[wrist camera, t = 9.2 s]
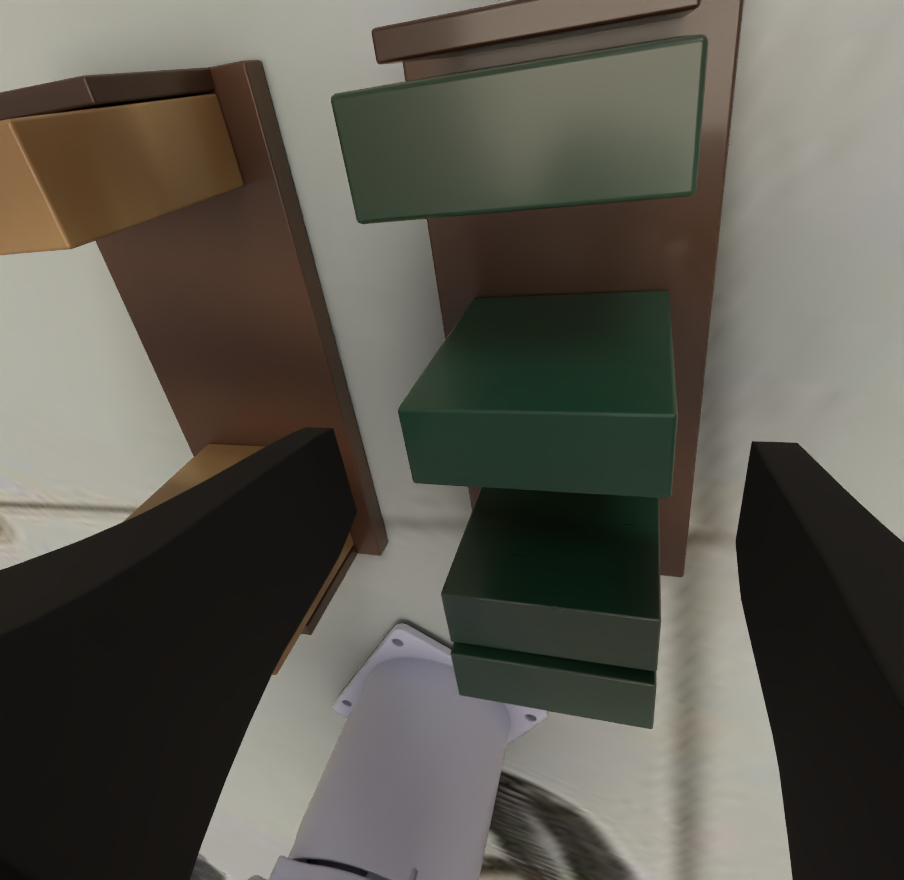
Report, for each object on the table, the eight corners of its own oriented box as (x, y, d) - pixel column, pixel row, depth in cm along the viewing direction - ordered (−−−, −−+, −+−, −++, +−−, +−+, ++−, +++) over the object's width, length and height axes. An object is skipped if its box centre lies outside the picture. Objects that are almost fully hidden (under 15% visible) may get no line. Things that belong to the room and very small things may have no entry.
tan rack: (388, 542, 23) (309, 692, 18) (242, 528, 25) (132, 659, 20) (261, 59, 15) (34, 71, 9) (54, 99, 17) (-228, 127, 11)
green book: (665, 356, 15) (671, 500, 10) (480, 357, 17) (412, 484, 12) (669, 289, 14) (678, 414, 9) (473, 297, 16) (395, 409, 11)
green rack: (682, 561, 20) (693, 756, 14) (483, 542, 22) (428, 706, 17) (741, -24, 11) (822, -79, 6) (409, 39, 14) (249, 39, 8)
